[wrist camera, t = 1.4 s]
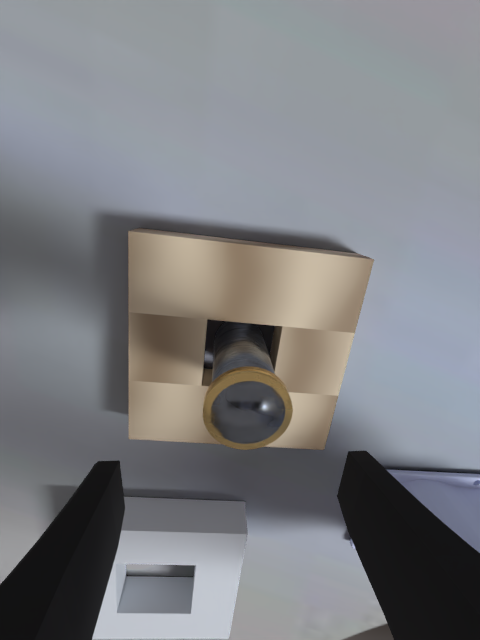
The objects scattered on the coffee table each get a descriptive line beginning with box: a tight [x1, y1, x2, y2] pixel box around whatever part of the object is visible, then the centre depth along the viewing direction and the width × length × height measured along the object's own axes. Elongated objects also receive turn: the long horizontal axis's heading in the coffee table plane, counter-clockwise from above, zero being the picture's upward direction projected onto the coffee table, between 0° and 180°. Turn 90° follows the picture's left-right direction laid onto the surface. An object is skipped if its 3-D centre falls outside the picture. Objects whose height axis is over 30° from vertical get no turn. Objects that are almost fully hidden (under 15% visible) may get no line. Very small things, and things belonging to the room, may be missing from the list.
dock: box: [92, 497, 248, 639], centre depth 24 cm, size 12×12×2 cm
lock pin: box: [203, 321, 293, 450], centre depth 16 cm, size 4×4×7 cm
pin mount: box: [128, 228, 374, 450], centre depth 18 cm, size 12×12×2 cm
